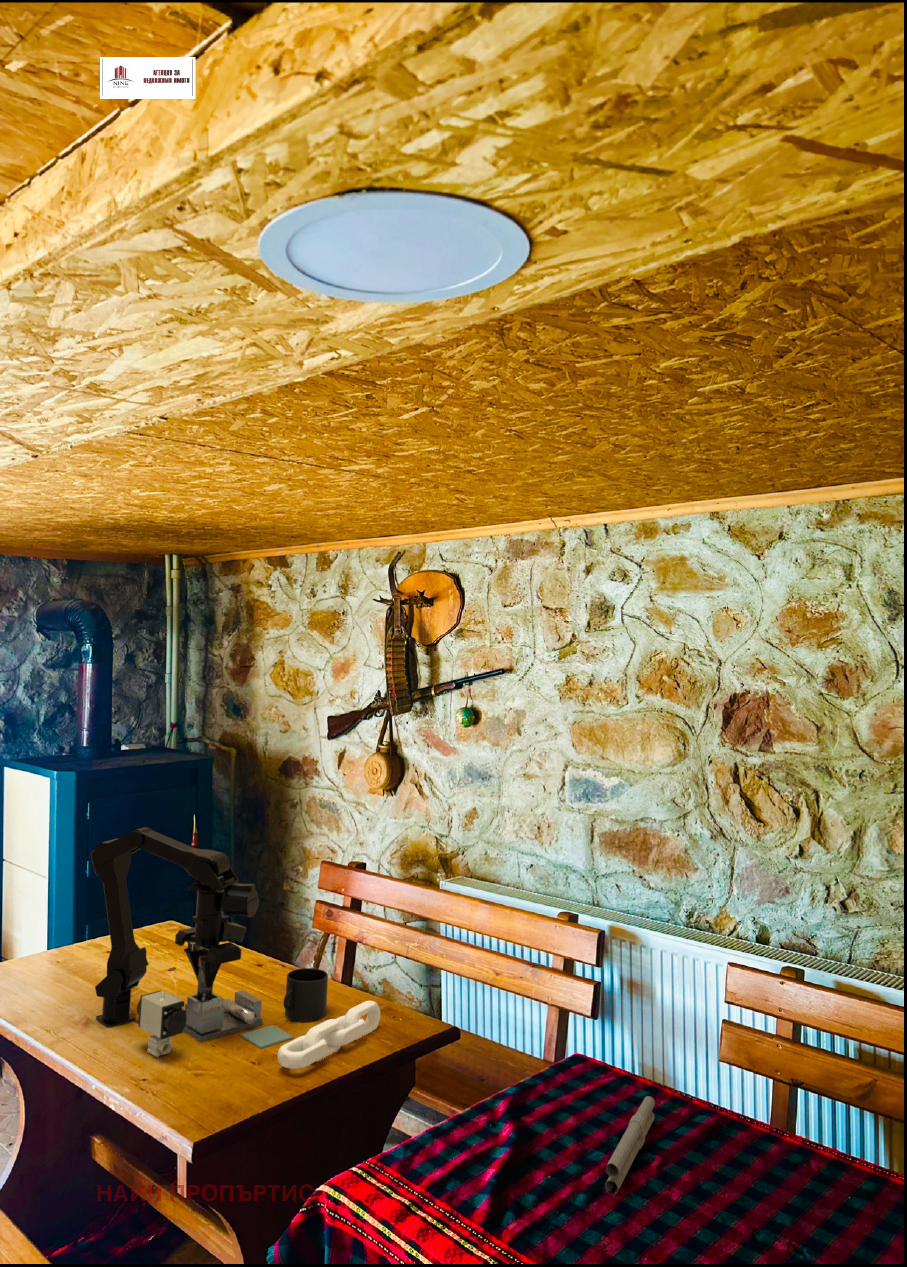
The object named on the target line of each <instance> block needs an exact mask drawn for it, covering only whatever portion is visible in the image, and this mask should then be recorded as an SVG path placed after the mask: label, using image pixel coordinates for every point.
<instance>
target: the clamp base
mask: <svg viewBox="0 0 907 1267" xmlns="http://www.w3.org/2000/svg"><path fill="white" fill-rule="evenodd" d="M262 1003H263V1002H262V1000H261V999H260V998H259V997H256V996H254V995H253V994H251V993H249V992H247V991H245V990H243V989H242V990H238V991H235V992H234V1001H233V1000H232V999H230V998H224V1000H222V1007H221V1008H223V1009H224V1012H223V1028H220V1029H216V1030H213V1031H209V1032H206V1033H202V1034H201V1033H199V1032H198V1031H196V1030H195V1029H193V1028H192V1027H190V1026H189V1025H187V1024H186V1026H185V1027H184V1028H183V1032H184V1033H185V1034H187V1035H189V1036H190V1037H191V1038H193V1039H195V1040H196V1041H197V1042H199V1043H204V1042H208V1041H211V1040H215V1039H217V1038H221V1037H225V1036H229V1035H231V1034H235V1033H238V1032H242V1031H245V1030H248V1029H252V1028H256V1027H259V1026H263V1018H262V1017H261V1016H262Z"/></svg>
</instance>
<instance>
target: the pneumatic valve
mask: <svg viewBox="0 0 907 1267" xmlns="http://www.w3.org/2000/svg"><path fill="white" fill-rule="evenodd" d="M186 1012H187V1011H186V1010H185V1001H184V1000H182V999H180V998H179V996H177V995H176V994H169V993H167V992H165V991H163V990H161V989H160V990H157V991H153V992H149V993H146V994H142V995H140V996H139V1002H138V1003H137V1006H136V1013H137V1015H138V1028H140V1029H142V1030H145V1031H146V1032H148V1033H150V1034H151V1035H148V1037H147V1045H148V1048H147V1050H146V1052H147V1053H148V1054H150V1055H151V1056H153V1057H155V1058H159V1057H160V1056H164V1055H166V1054H167V1055H170V1053H171V1052H172V1044H171V1042H172V1039H173V1038H172V1037H173V1036H177V1035H180V1034H182V1033H183V1032H184V1031H183V1028H184V1027H185V1026H186V1021H187V1017H186Z"/></svg>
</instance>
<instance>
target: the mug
mask: <svg viewBox="0 0 907 1267" xmlns="http://www.w3.org/2000/svg"><path fill="white" fill-rule="evenodd" d="M328 979H329V974H328V973H327V971H325V970H324V969H319V968H313V967H310V968H309V967H305V968H304V967H303V968H302V967H301V968H297V969H294V970H291V971H289V972H288V973H287V975H286V984H285V985H286V987H285V995H284V998H283V1008H284V1015H285V1018H287V1020H288V1019H289V1020H291V1021H294V1022H299V1023H311V1022H316V1021H318V1020H320V1019H323V1018H324V1017H325V1016H326V1015H327V1002H328V1000H327V999H328V982H329V980H328Z"/></svg>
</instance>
